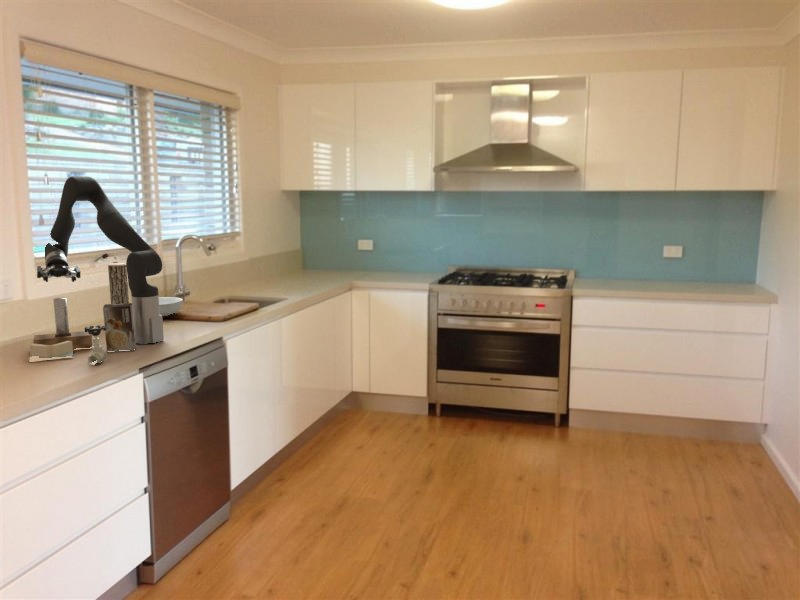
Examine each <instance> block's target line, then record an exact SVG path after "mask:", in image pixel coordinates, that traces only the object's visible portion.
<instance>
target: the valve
mask: <svg viewBox="0 0 800 600" xmlns="http://www.w3.org/2000/svg"><path fill="white" fill-rule="evenodd" d="M105 330H106V326H105V325H102V326H101V325H100V324H99V325H96V326H94V325H89V327H88V326H86V327H84V331H85V332H88V333H89V334H90V335H92V349H91V350H92V353H91V354H90V355H89V356H88V357H87V362H88V364H89V363H92V362H94V361H96V360H97V363H100V362H101V361H103V362H104V361H105V359H107V358H108V357H107V356H108V353H107V351H105V350H104V349H103V346H102V345H100V342H101V341H100V337H98V336H100V334H101V333H102V331H103V332H105ZM100 364H101V363H100Z"/></svg>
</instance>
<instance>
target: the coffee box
mask: <svg viewBox="0 0 800 600" xmlns="http://www.w3.org/2000/svg"><path fill="white" fill-rule="evenodd" d="M102 312H103V313H102V314H103V321H104V322H103V323H104V325H103V326H106V330H105V331H104V334H105V345H106V352H107V351H119V350H134V349H135V350H136V348H137V346H136V345H137V344H136V343H135V335H134V323H133V311H132V302H129V303H122V304H111V303H107V304H104V305H103V307H102ZM135 347H136V348H135Z"/></svg>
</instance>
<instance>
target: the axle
mask: <svg viewBox="0 0 800 600" xmlns="http://www.w3.org/2000/svg"><path fill="white" fill-rule="evenodd" d="M52 299H53V309H54V320H55V330H56V331H55V332H56V333H55V334H57V337H65V336H69V332H70V325H69V316H68V305H67V303H68V302H67V297H55V298H52Z"/></svg>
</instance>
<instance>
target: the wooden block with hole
mask: <svg viewBox="0 0 800 600" xmlns="http://www.w3.org/2000/svg"><path fill="white" fill-rule="evenodd" d="M65 341H72V346H73V349H76V348H90V347H92V346H93V336H92V335H90V334H89V333H88V332H85V330H81V331H69V336H65V337H57V334H56V333H45V334H36V335H34V336H33V339H32V342H33V343H32V344H42V345H54V344H58V343H61V342H65Z"/></svg>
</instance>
